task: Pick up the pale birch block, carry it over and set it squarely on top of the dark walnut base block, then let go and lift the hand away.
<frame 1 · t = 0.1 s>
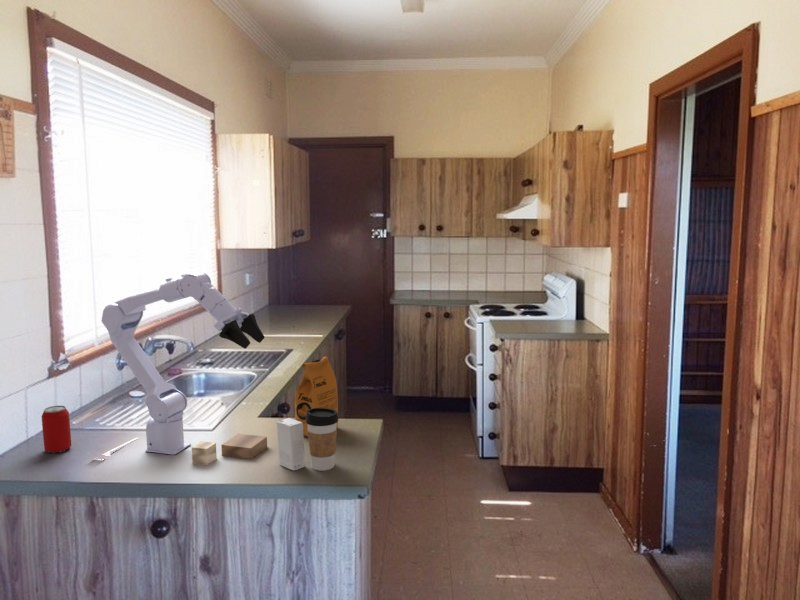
hand: (255, 342, 168), 32 cm above the worktop, tool tilted 50°, fingers open, 7 cm apart
coffee package: (316, 431, 194), on the worktop
skincare box: (291, 466, 168), on the worktop
coffee cup: (323, 466, 168), on the worktop
beverage can: (58, 450, 180), on the worktop
walnut base: (245, 451, 178), on the worktop
fork: (116, 452, 179), on the worktop
birch block: (204, 461, 172), on the worktop
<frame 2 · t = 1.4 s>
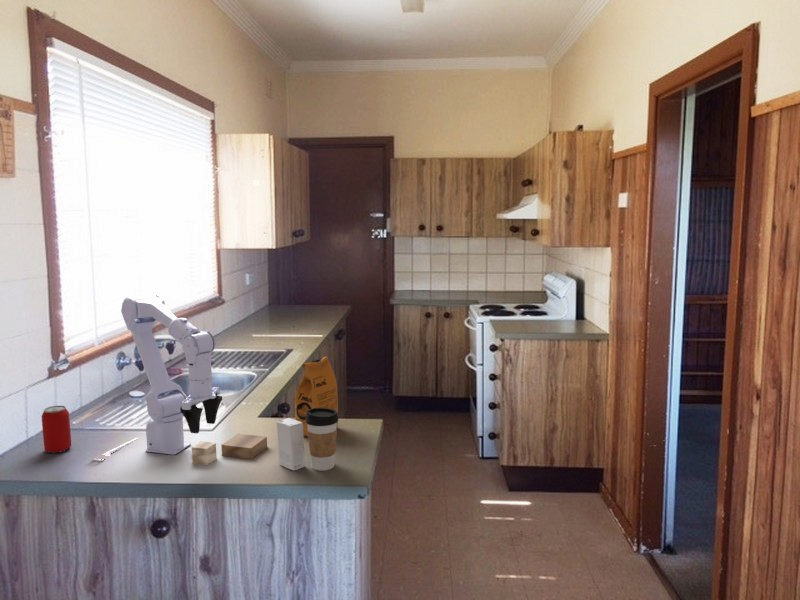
hand: (203, 427, 170), 9 cm above the worktop, tool pointing down, fingers open, 7 cm apart
nothing on the worktop moved.
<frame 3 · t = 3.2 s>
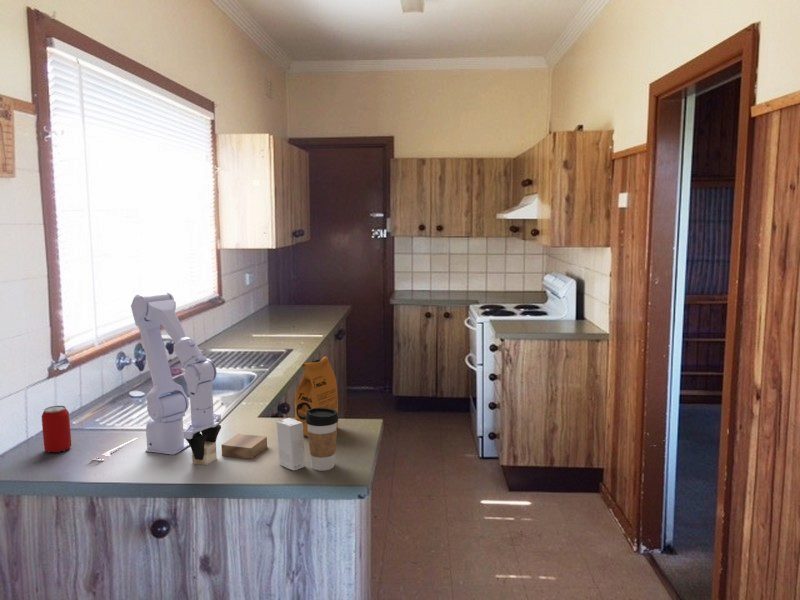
hand: (204, 455, 172), 1 cm above the worktop, tool pointing down, fingers closed on birch block, 4 cm apart
birch block: (204, 460, 172), on the worktop, touching gripper
everything else where it was.
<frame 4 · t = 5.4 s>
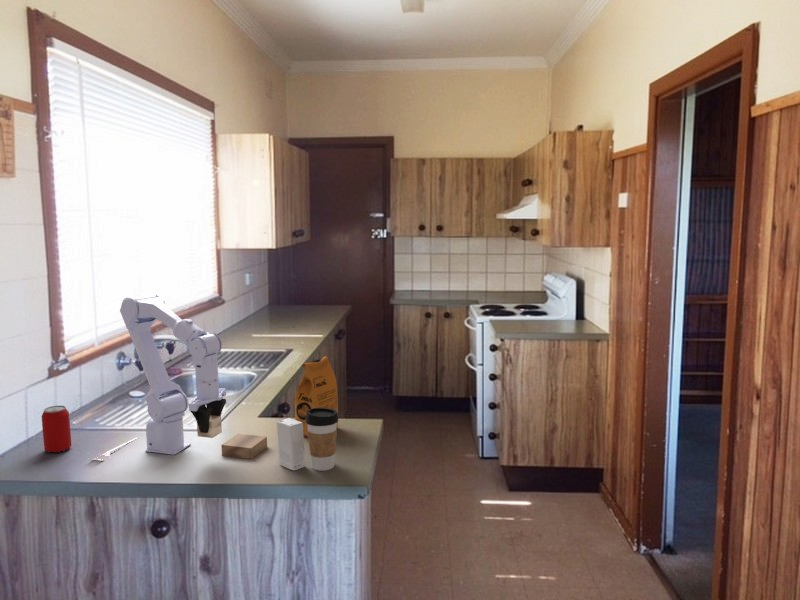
hand: (209, 429, 172), 8 cm above the worktop, tool pointing down, fingers closed on birch block, 4 cm apart
birch block: (209, 434, 172), point 7 cm above the worktop, touching gripper
everything else where it was.
when the fingers open (5 cm above the worktop, at t = 7.8 s): birch block stays where it is, resting on walnut base.
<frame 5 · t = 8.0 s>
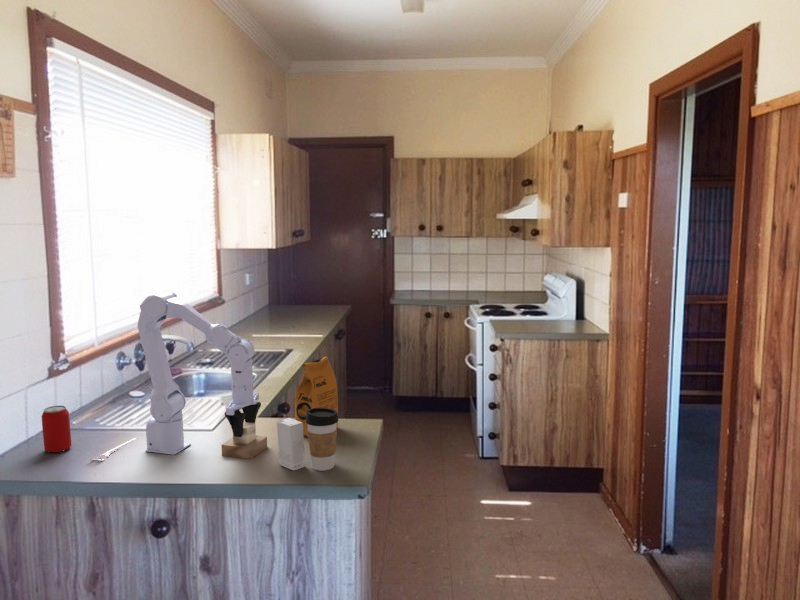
hand: (244, 432, 178), 5 cm above the worktop, tool pointing down, fingers open, 6 cm apart
birch block: (244, 440, 178), point 3 cm above the worktop, touching walnut base
everything else where it was.
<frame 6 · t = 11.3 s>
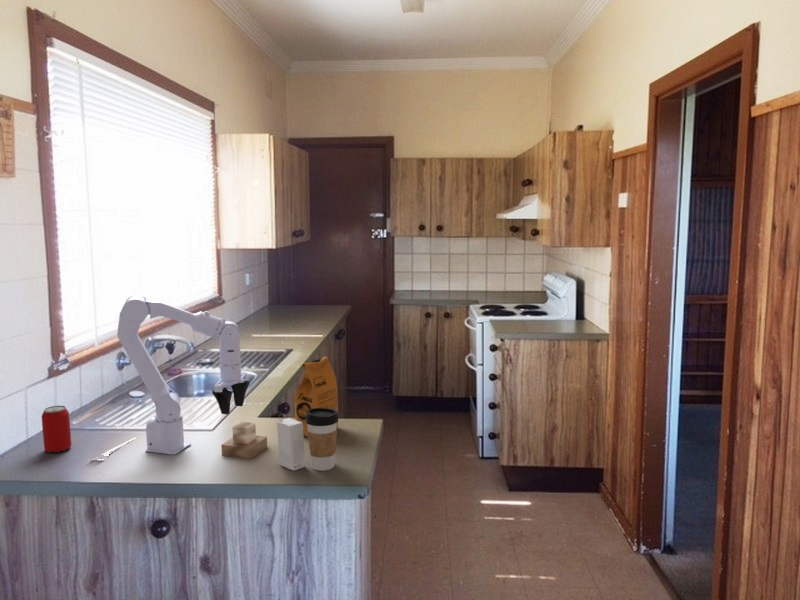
hand: (232, 409, 185), 9 cm above the worktop, tool pointing down, fingers open, 7 cm apart
nothing on the worktop moved.
at the end: birch block 0.0 cm off-centre on the walnut base, point 3.0 cm above the walnut base's base; birch block tilted 0°; the gripper is holding nothing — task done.
